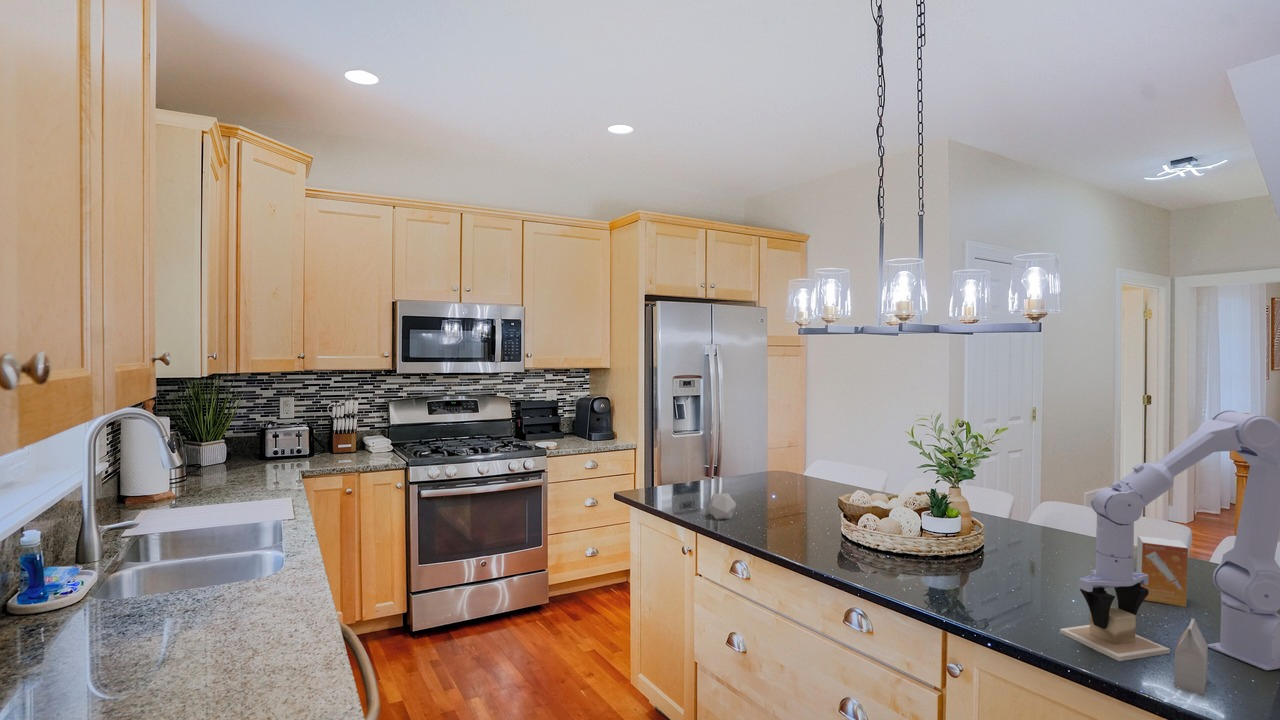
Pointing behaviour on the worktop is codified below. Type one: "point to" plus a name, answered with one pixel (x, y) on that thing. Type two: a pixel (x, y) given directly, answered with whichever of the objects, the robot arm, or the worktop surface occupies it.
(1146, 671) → the worktop surface
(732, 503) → the die
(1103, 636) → the maple cube
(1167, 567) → the small box
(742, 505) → the worktop surface
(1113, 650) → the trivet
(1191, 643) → the beige gable-top carton
